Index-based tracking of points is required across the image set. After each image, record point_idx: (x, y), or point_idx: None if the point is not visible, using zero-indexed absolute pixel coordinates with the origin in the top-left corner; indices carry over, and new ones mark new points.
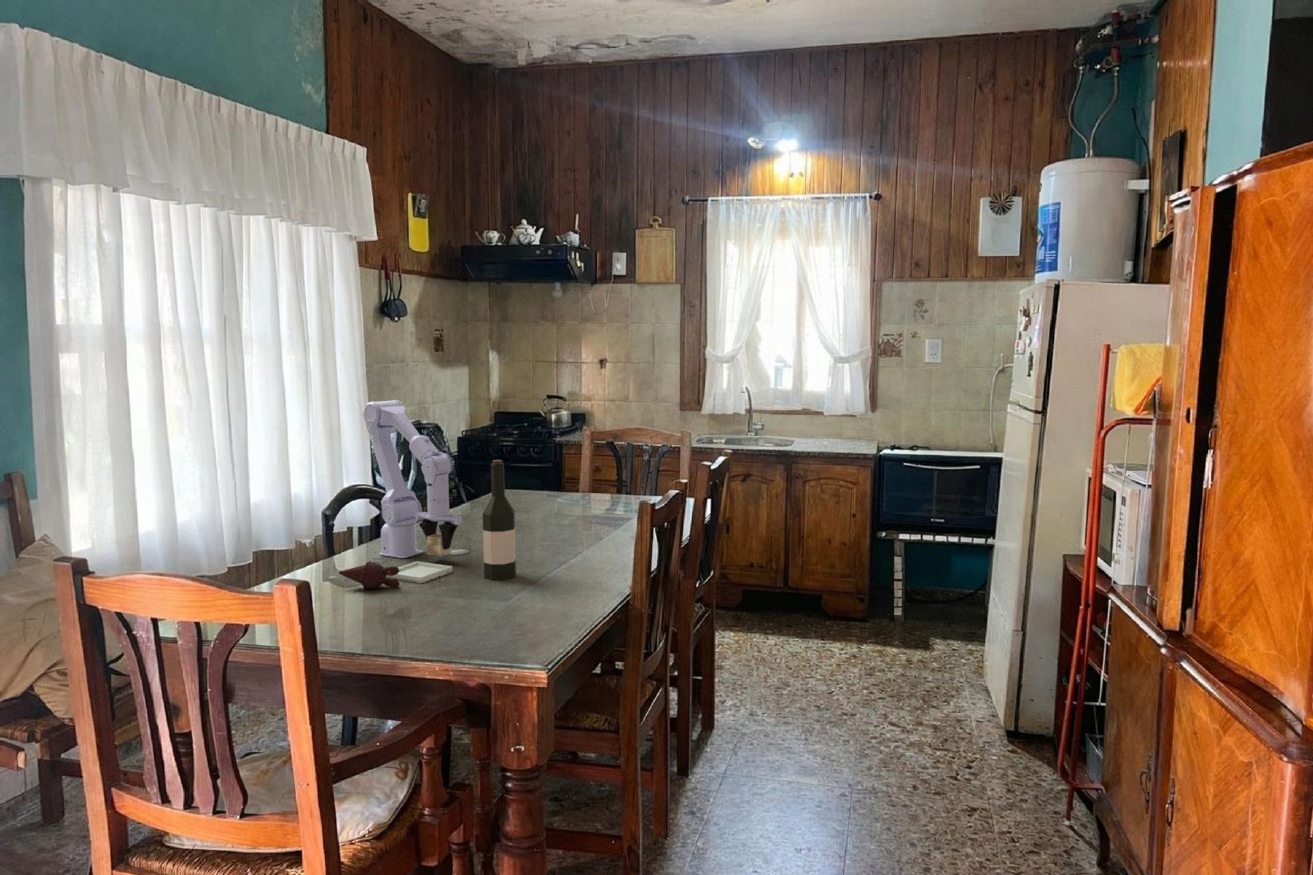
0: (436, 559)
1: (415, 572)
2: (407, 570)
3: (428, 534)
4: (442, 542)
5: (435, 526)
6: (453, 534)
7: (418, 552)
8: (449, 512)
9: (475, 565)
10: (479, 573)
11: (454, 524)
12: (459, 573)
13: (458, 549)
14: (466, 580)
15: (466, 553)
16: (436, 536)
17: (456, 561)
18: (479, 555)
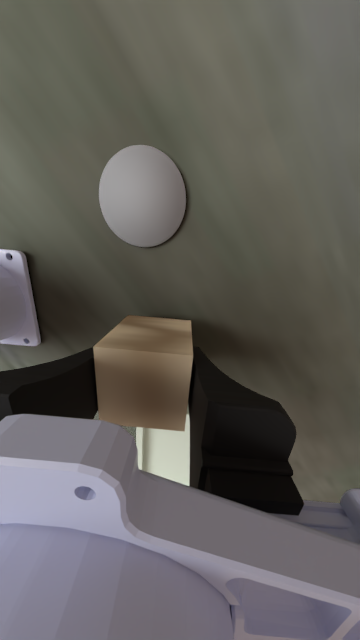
0: (133, 314)
1: (186, 453)
2: (156, 446)
3: (91, 416)
4: (188, 400)
5: (62, 392)
6: (225, 376)
7: (25, 281)
8: (86, 483)
9: (296, 334)
10: (342, 399)
11: (285, 471)
12: (286, 412)
13: (115, 156)
14: (330, 451)
15: (185, 204)
16: (144, 411)
17: (210, 313)
18: (247, 203)
